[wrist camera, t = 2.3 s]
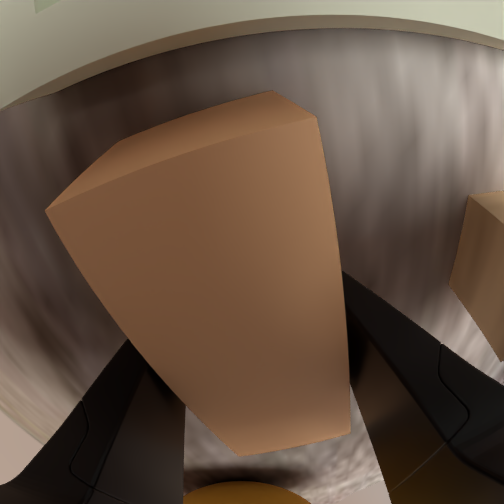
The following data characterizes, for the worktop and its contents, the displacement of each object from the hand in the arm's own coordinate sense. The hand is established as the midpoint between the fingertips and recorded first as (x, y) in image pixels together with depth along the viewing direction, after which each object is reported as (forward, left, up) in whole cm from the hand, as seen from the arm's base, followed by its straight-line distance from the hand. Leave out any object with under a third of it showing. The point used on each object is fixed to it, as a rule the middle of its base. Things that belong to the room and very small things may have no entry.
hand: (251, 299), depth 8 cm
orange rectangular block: (0, 0, -1) cm, 1 cm away
